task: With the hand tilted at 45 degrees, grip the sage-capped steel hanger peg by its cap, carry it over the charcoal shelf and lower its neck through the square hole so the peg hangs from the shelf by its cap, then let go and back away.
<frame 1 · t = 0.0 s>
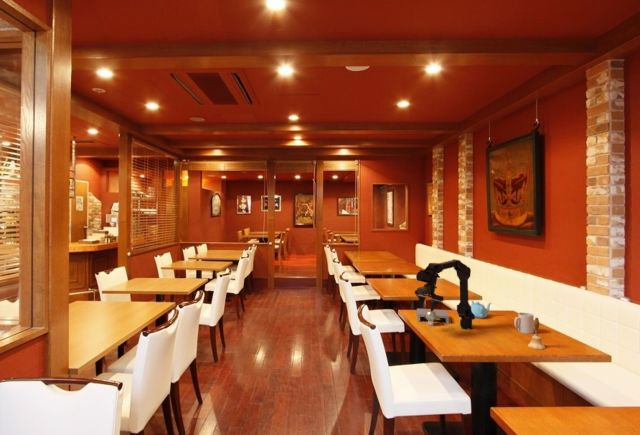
hand: (426, 309, 226), 15 cm above the table, tool pointing down, fingers open, 9 cm apart
mug: (523, 332, 234), on the table
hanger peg: (430, 324, 247), on the table
teapot: (476, 316, 270), on the table
hanger shelf: (432, 319, 261), on the table
hand bell: (536, 347, 208), on the table
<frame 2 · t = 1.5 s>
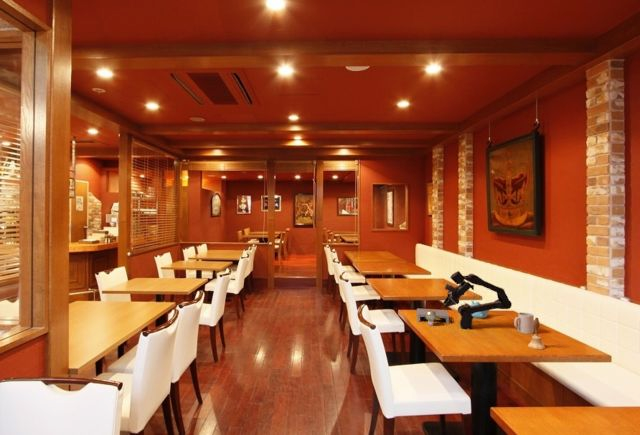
hand: (443, 305, 245), 13 cm above the table, tool tilted 45°, fingers open, 9 cm apart
nothing on the table moved.
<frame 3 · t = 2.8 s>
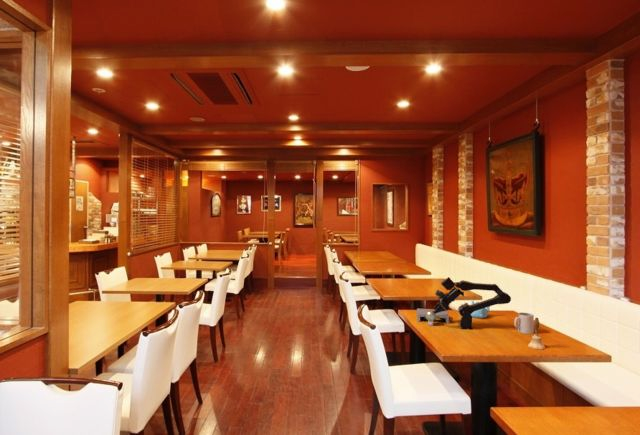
hand: (434, 311, 247), 9 cm above the table, tool tilted 45°, fingers open, 9 cm apart
nothing on the table moved.
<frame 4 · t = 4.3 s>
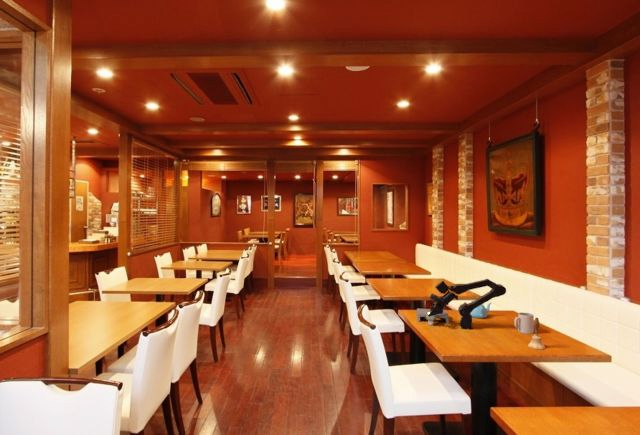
hand: (428, 314, 248), 7 cm above the table, tool tilted 45°, fingers closed on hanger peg, 6 cm apart
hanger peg: (430, 324, 247), on the table, touching gripper
everything else where it was.
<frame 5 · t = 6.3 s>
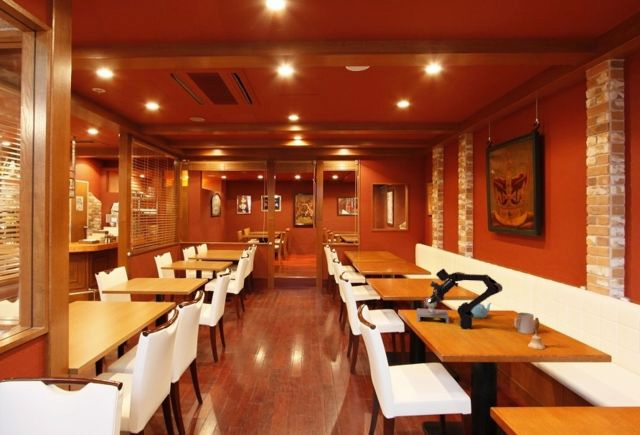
hand: (429, 302, 253), 14 cm above the table, tool tilted 45°, fingers closed on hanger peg, 6 cm apart
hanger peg: (431, 312, 253), point 7 cm above the table, touching gripper
everything else where it was.
when the fingers open (9 cm above the table, at t = 8.7 s): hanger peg stays where it is, resting on hanger shelf.
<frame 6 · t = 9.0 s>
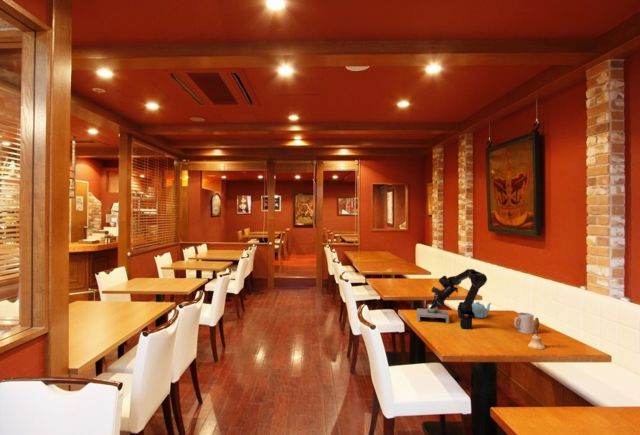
hand: (430, 306, 261), 9 cm above the table, tool tilted 45°, fingers open, 9 cm apart
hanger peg: (432, 317, 261), point 1 cm above the table, touching hanger shelf
everything else where it was.
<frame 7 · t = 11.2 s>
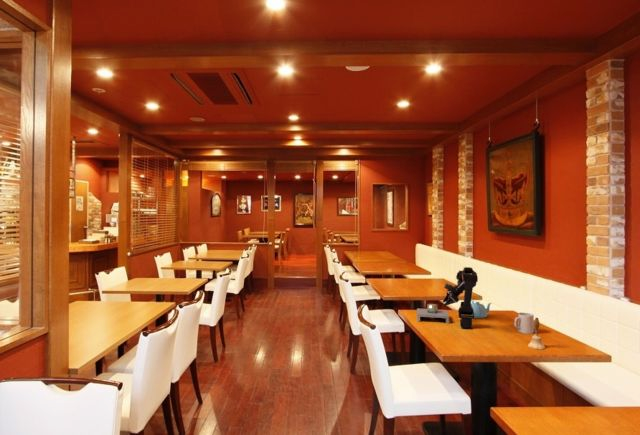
hand: (443, 303, 258), 11 cm above the table, tool tilted 45°, fingers open, 9 cm apart
nothing on the table moved.
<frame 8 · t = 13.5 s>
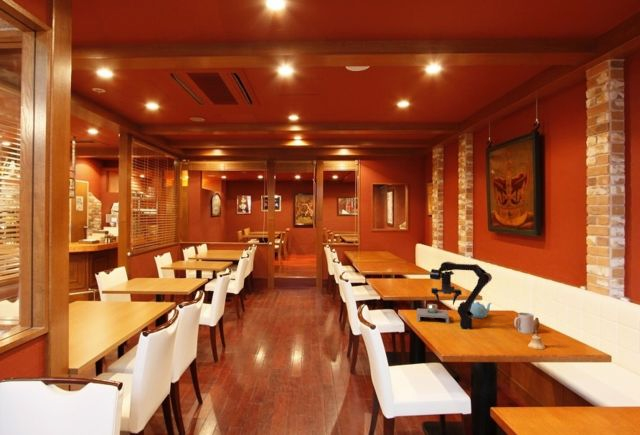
hand: (445, 304, 250), 13 cm above the table, tool pointing down, fingers open, 9 cm apart
nothing on the table moved.
at the end: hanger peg 0.0 cm off-centre on the hanger shelf, point 1.0 cm above the hanger shelf's base; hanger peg tilted 0°; the gripper is holding nothing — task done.
